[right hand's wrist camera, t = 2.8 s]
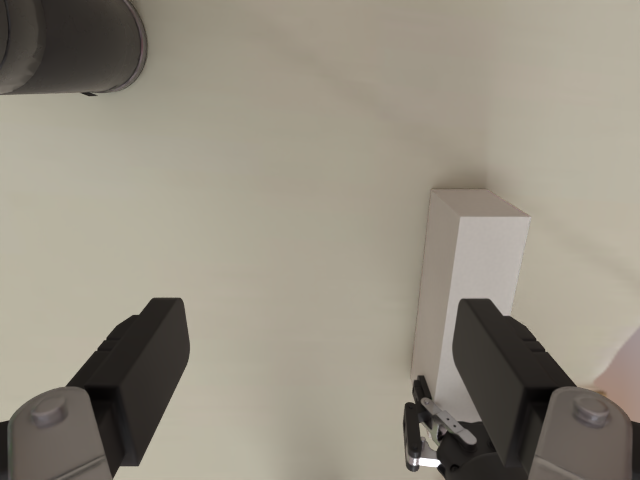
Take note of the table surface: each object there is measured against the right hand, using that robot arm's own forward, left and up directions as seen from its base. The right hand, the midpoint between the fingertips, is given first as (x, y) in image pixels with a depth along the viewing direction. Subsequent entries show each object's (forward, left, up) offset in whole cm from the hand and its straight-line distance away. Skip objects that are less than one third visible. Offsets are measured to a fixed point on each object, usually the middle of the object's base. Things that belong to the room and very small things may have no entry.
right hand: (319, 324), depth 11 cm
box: (+16, +15, -31) cm, 38 cm away
